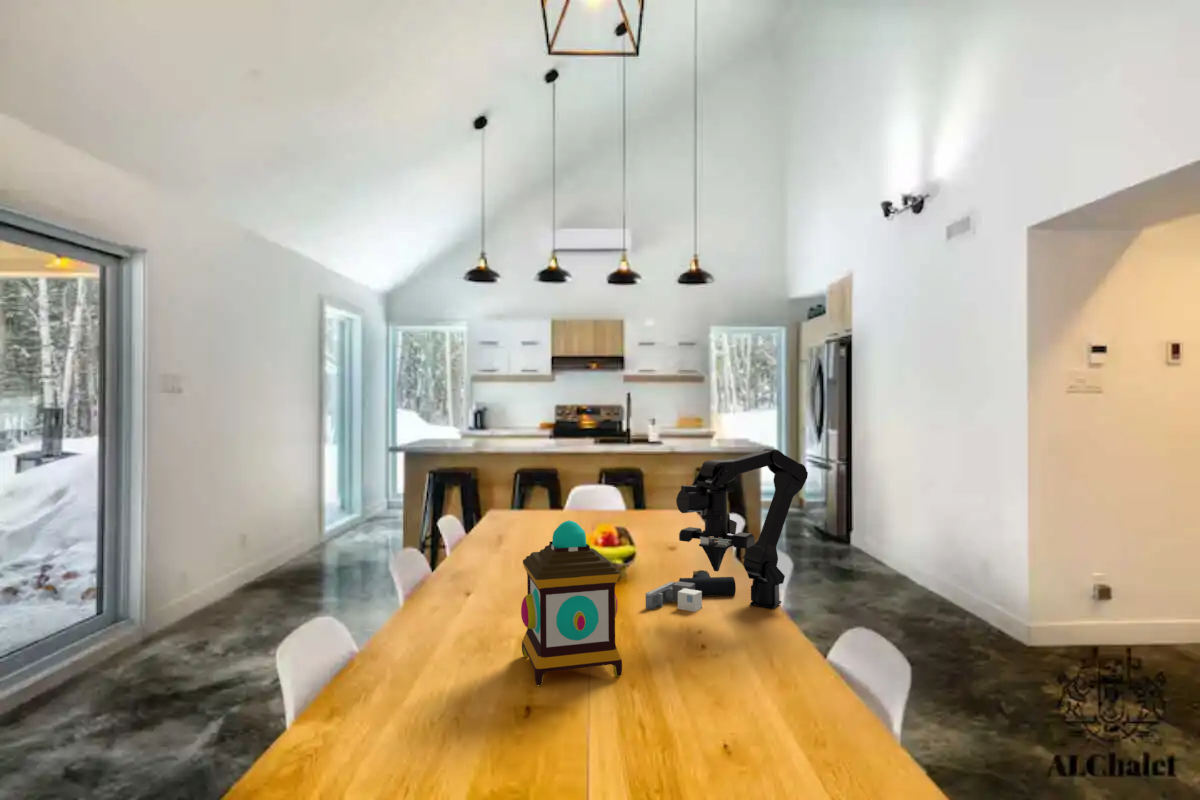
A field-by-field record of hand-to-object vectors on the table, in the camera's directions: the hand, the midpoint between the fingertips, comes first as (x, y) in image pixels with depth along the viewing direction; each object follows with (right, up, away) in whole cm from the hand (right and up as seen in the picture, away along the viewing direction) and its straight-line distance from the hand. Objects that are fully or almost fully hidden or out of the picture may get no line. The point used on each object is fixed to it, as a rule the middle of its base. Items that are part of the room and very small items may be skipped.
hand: (716, 571), depth 177 cm
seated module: (-7, -11, +12) cm, 17 cm away
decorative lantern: (-36, -11, -35) cm, 51 cm away
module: (-6, -11, +4) cm, 13 cm away
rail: (-13, -11, +10) cm, 19 cm away
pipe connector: (0, -11, +20) cm, 23 cm away
